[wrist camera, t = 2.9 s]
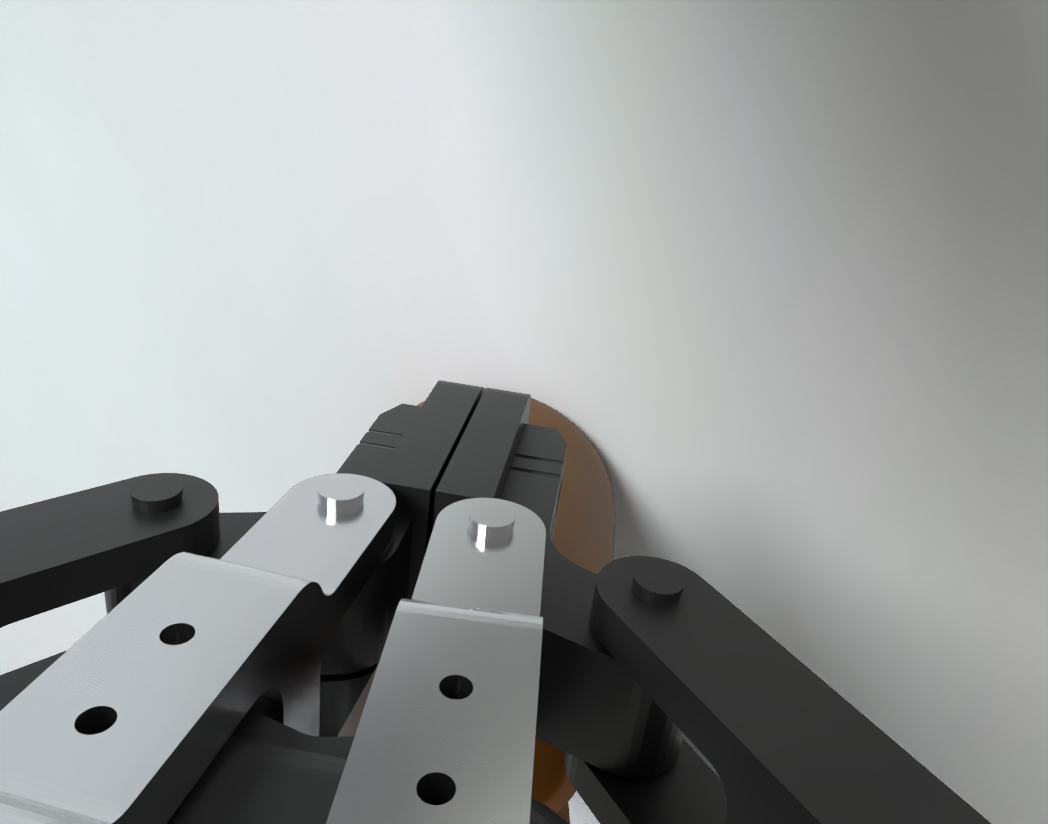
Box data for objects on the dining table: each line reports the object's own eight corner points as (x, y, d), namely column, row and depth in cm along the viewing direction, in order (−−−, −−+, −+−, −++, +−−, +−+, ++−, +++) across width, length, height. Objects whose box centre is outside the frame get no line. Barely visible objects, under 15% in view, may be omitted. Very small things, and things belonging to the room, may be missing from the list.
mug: (681, 681, 27) (694, 974, 19) (467, 713, 29) (391, 993, 21) (576, 349, 23) (532, 535, 14) (333, 412, 25) (168, 609, 16)
